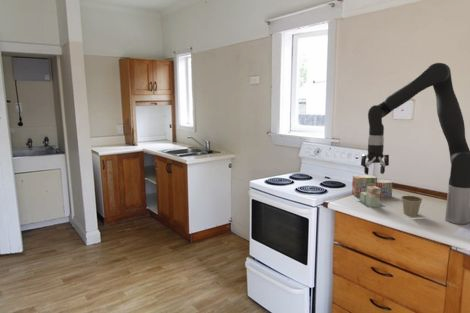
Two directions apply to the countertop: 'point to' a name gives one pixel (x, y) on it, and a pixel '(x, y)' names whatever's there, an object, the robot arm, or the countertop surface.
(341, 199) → the countertop surface
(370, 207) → the build mat
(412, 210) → the flower pot
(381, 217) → the countertop surface
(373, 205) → the sage block near
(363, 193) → the sage block far
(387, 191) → the stack of blocks
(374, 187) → the maple block
